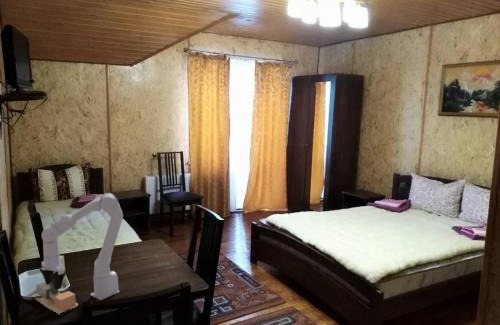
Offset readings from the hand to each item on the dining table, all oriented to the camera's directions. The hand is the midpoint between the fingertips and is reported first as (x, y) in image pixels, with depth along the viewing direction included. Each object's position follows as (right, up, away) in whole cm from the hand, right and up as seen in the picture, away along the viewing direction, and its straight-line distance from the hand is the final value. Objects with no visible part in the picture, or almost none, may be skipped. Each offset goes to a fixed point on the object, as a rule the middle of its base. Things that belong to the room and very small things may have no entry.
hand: (53, 286), depth 157 cm
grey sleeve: (-6, -6, +5) cm, 10 cm away
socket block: (+7, -8, -4) cm, 11 cm away
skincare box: (-8, -5, +19) cm, 22 cm away
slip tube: (-2, -5, +2) cm, 6 cm away
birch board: (0, -7, +1) cm, 7 cm away
